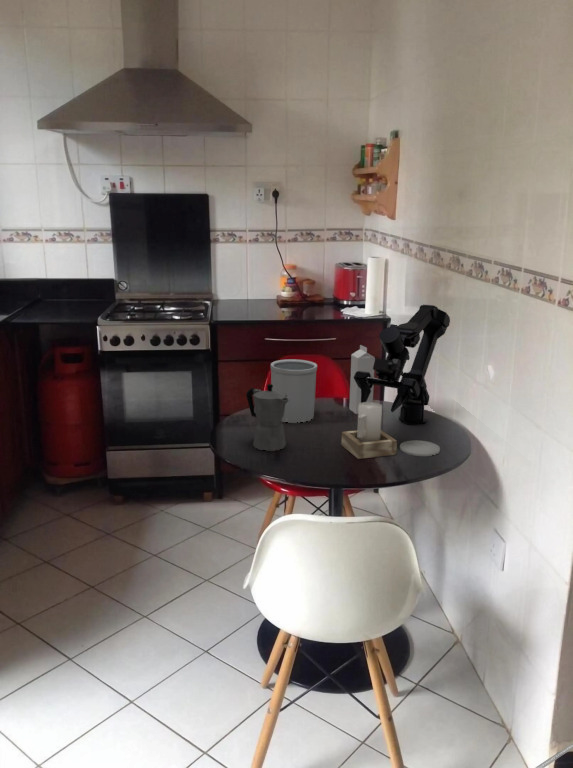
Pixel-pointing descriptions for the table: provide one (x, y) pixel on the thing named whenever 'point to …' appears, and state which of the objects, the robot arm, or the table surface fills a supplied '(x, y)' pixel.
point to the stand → (368, 445)
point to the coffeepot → (268, 417)
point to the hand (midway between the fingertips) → (376, 408)
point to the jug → (369, 422)
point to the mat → (419, 448)
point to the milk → (365, 364)
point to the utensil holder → (295, 387)
